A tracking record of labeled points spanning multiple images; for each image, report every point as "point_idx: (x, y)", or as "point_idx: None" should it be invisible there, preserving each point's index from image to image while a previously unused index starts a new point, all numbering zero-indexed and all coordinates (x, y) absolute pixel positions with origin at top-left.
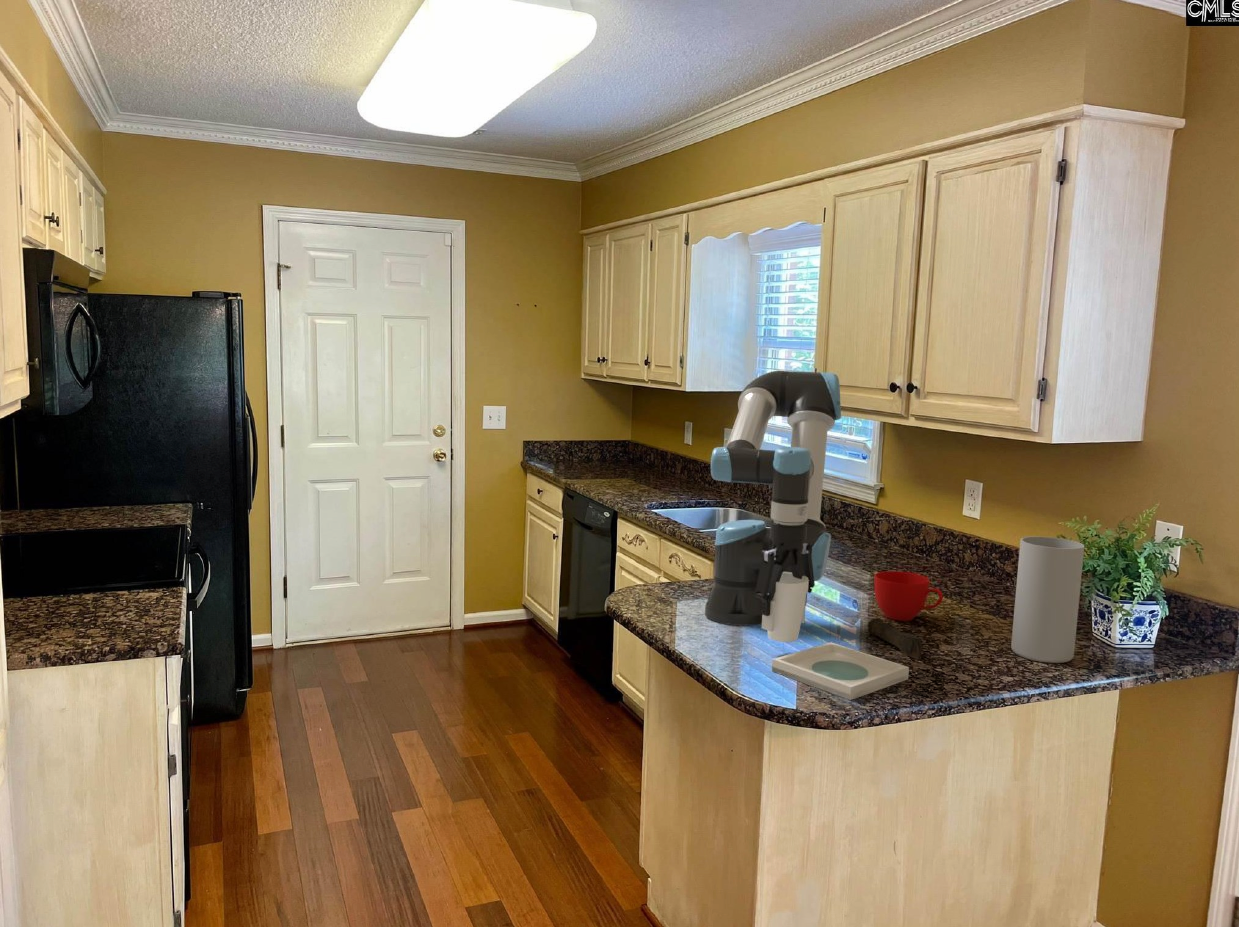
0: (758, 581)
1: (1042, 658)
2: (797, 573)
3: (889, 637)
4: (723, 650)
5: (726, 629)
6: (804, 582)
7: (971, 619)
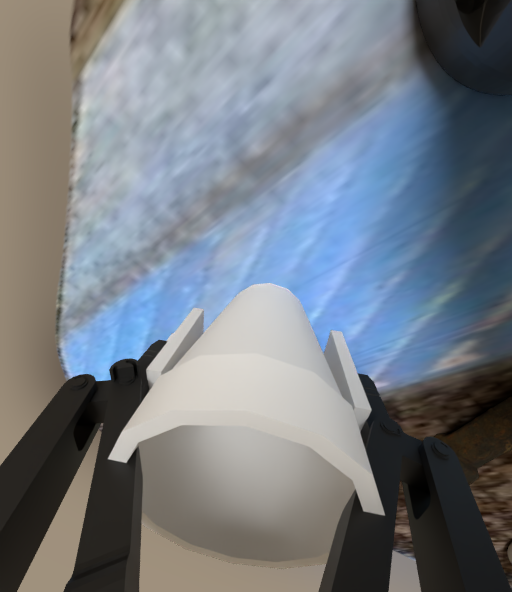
0: (18, 452)
1: (509, 557)
2: (332, 550)
3: (485, 426)
4: (183, 190)
5: (356, 44)
6: (234, 563)
7: None
